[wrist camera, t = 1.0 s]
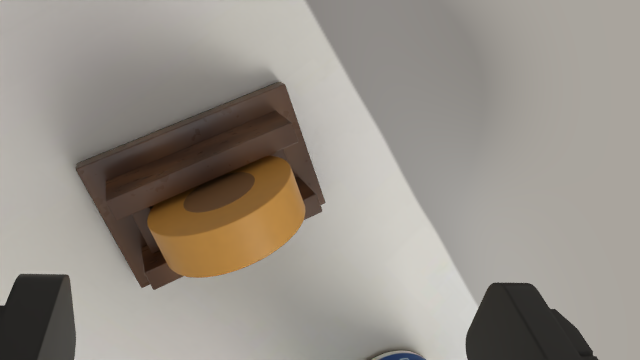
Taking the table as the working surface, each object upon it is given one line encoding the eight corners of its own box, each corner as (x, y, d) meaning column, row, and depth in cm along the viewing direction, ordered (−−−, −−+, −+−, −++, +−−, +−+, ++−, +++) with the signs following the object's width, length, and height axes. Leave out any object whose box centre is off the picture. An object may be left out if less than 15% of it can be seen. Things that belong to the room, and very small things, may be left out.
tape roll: (158, 234, 31) (179, 302, 24) (139, 197, 30) (155, 257, 23) (278, 178, 33) (329, 227, 26) (264, 141, 32) (313, 182, 25)
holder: (140, 280, 33) (145, 316, 29) (76, 163, 29) (72, 188, 26) (320, 197, 35) (344, 221, 32) (280, 81, 32) (301, 93, 28)
